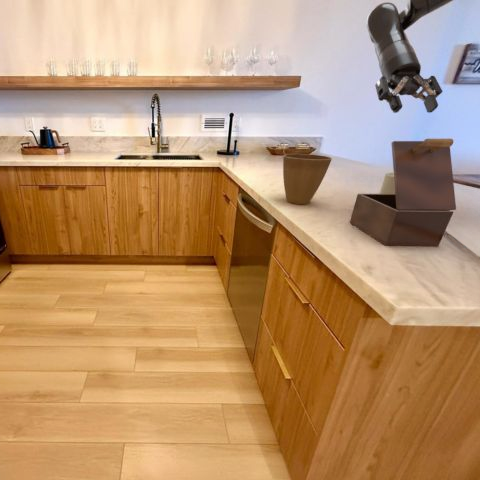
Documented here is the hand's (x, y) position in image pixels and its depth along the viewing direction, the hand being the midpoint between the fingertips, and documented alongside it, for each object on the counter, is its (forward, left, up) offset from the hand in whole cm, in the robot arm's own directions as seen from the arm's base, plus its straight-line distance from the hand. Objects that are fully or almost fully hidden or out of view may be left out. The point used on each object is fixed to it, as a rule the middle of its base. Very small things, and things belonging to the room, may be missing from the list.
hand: (415, 110), depth 72 cm
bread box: (0, +10, -30) cm, 32 cm away
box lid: (-1, +13, -14) cm, 19 cm away
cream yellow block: (-6, -13, -30) cm, 34 cm away
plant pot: (+22, -13, -30) cm, 40 cm away
